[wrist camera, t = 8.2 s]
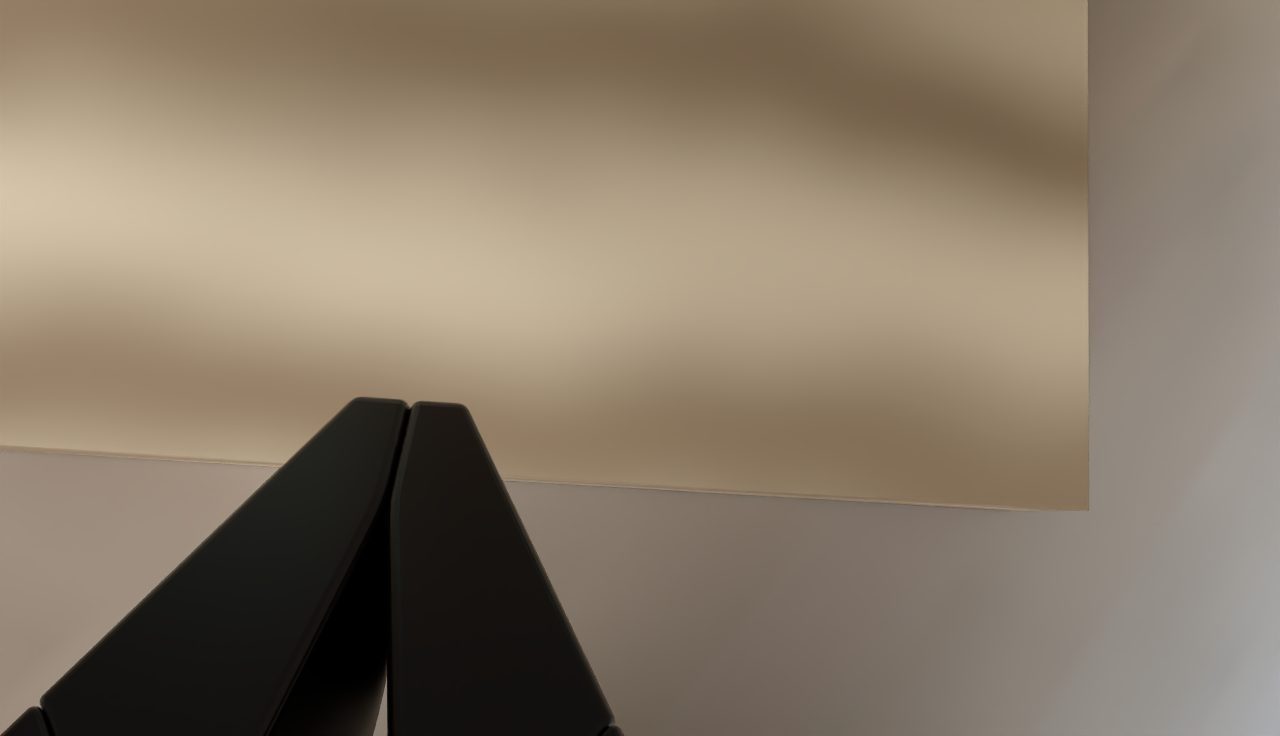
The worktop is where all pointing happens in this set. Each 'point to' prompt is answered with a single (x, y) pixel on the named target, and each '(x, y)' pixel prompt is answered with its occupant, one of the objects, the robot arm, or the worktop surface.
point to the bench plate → (560, 236)
